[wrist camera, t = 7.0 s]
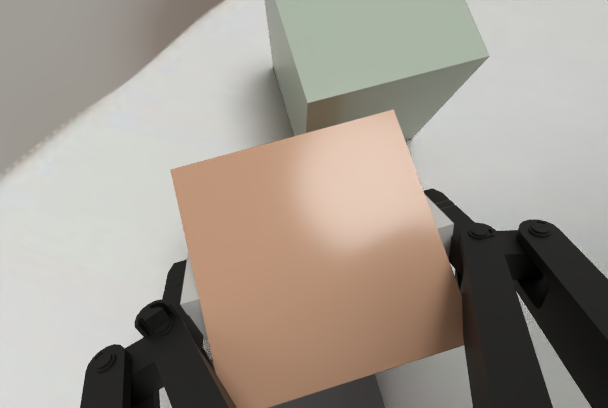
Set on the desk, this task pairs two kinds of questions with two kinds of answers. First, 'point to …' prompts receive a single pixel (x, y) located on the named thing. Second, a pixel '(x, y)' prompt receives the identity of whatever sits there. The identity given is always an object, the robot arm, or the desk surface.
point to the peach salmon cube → (316, 261)
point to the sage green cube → (370, 58)
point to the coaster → (341, 396)
